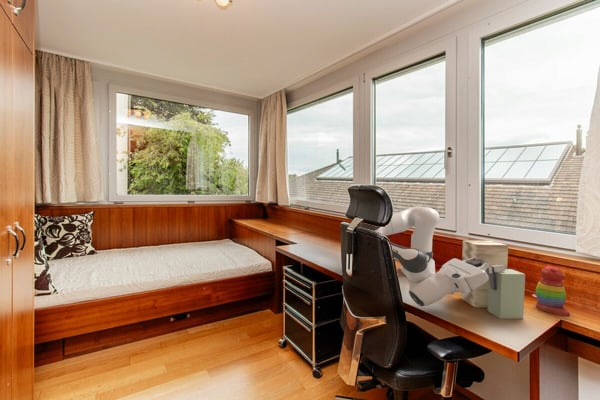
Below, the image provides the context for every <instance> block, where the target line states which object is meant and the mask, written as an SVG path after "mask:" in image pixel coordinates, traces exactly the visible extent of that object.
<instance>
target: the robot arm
mask: <svg viewBox="0 0 600 400" xmlns="http://www.w3.org/2000/svg"><path fill="white" fill-rule="evenodd" d="M392 214H393V216H392V219H391V221H390V223H389V224H388V225H387V226H385V227H375V226H372V225H368V224H364V223H362V224H361V223H360V224H361V225H360V224H359V225H360V226H361V227H364V228H367V229H370V230H373V231H376V232H379V233H381V234H383V235H385V236H384V237H386V236H391V235H394V234H399V233H402V232H406V231H407V230H409V229H411V228H414V230H413V232H412V234H411V235H410V237H411V238H410V247H408V246H403V245H399V244H396V243H394V242H390V241H389V242H390V243H391V246H392V250H393V255H394V258H393V259H394V260H396V261H398V262H399V263H400V265H401V266H399V270H400V271H401V272H402V275H404V276H406V279H407V281H408V287H409V289H408V293H409V296H410V297H411V299H412V300H413V302H415V304H417V305H418V306H420V307H426V306H427V307H428V306H430V305H433V304H434V303H437V302H438V301H440V300H442V299H443V298H444V297H445V296H447V295H450V294H454V293H460V294H461V293H465V294H467V293H469V292H471V290H470V289H475V288H477V287H479V286H481V285H483V284H484V283H486V282H487V281H488V280H489V277H488V275H487V273H486V271H485V270H486V269H487V268H489V267H490V265H489V263H487V262H484V263H482V266H481V267H478V268H477V267H475V266H473V265H470V264H468V263H467V261H469V260H475V259H476V258H473V257H472V258H470V259H467V260H463V261H462V259H459V258H456V257H455V258H452V259H450V260H448V261H446V263H443V264H442V266H441V268H440V269H439V270H438V271H437V272H436V265H435V263H436V262H435V260H434V259H433V257H434V256H433V255H434V252H433V237H434V233H435V230H436V227H437V225H438V224H439V223H440V216H441V215H440V214H439V212H438V211H437V210H435V209H434V208H432V207H427V206H419V205H416V206H412V207H409V208H406V209H403V210H401V211H398V212H394V213H392Z"/></svg>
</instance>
